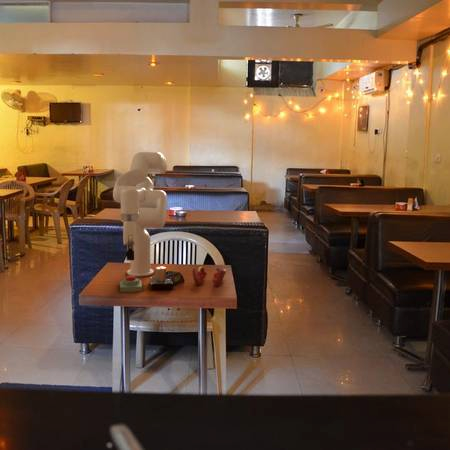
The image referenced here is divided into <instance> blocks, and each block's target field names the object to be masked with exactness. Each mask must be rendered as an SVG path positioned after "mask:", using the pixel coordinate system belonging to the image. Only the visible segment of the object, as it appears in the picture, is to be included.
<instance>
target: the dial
mask: <svg viewBox="0 0 450 450" xmlns="http://www.w3.org/2000/svg"><path fill="white" fill-rule="evenodd" d="M166 276H167V267H166V266H156V267H155V277H156V281H165V280H166Z"/></svg>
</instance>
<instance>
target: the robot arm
mask: <svg viewBox="0 0 450 450" xmlns="http://www.w3.org/2000/svg"><path fill="white" fill-rule="evenodd" d="M167 170H168V160H167V158H166V157H165V156H164V155H163V154H162V153H161V152H158V151H156V152H155V151H139V152H135V154H134V155H133V157H132V160H131V163H130V167H129V170H128V171H126V172H124V173H123V174H121V175H120V176H119V177H117V179H116V181H115V183H114V186H113V190H112V198H113V201H115V202H116V203H118V204H120V221H121V222H122V223H123V225H122V239H123V240H122V243H123V246H126V252H125V253H126V261H129V266H130V267H129V269H128V270H127V271H126V274H127V276H129V275H133V276H135V277H137V278H139V277H148V276H149V277H150V276H152V275H153V274H154V273H155V270H154V269H153V268H151V235H150V233H149V232H148V231H147V229H162V228H164V227H165V224H166V219H167V218H166V217H167V210H168V209H167V208H168V196H167V193H166V192H165V191H164V190H161V189H154V182H153V181H152V179H151V178H150V177H149V174H153V175H164V174H165V173H166V172H167Z"/></svg>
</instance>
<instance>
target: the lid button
mask: <svg viewBox="0 0 450 450" xmlns="http://www.w3.org/2000/svg"><path fill="white" fill-rule="evenodd" d="M125 278H126V281H135V278H136V276H133V275H126V276H125Z"/></svg>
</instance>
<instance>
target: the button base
mask: <svg viewBox="0 0 450 450" xmlns="http://www.w3.org/2000/svg"><path fill="white" fill-rule="evenodd" d="M142 291H143V286H142V280H141V279H139V277H135V281H126V277H124V278H122V280H119V292H120V293H134V292H135V293H139V292H142Z"/></svg>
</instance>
